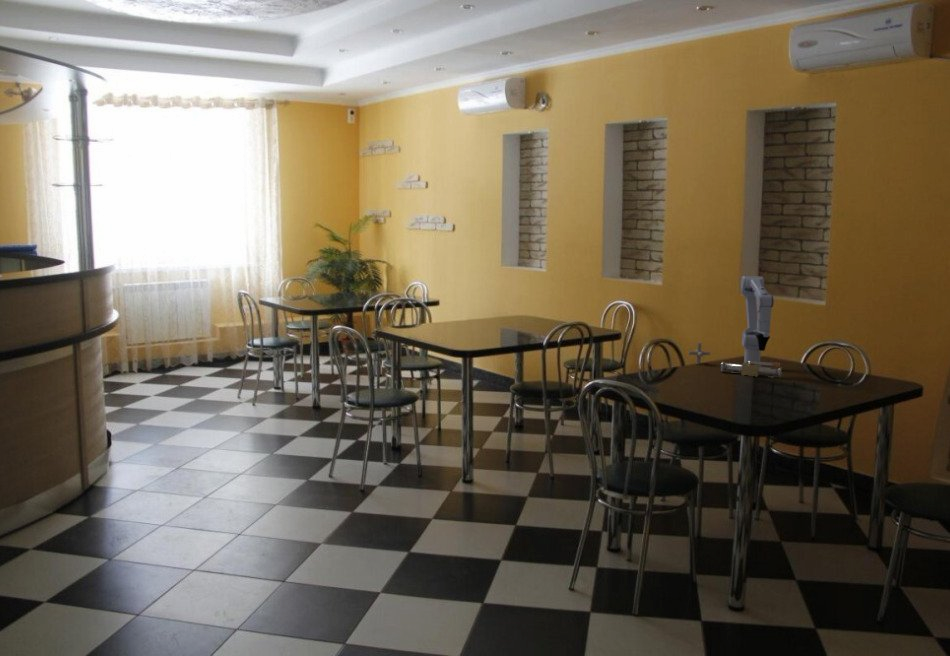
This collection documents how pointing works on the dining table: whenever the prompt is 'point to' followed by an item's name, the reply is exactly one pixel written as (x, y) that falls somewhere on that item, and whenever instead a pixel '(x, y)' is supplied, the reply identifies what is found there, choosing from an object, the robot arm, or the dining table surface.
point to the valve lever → (764, 363)
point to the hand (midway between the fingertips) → (761, 350)
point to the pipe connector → (699, 353)
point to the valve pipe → (751, 369)
